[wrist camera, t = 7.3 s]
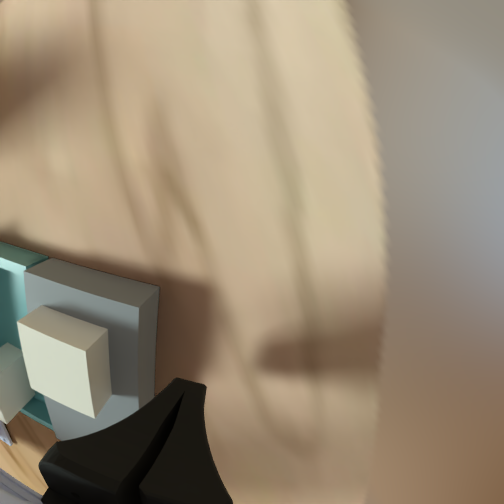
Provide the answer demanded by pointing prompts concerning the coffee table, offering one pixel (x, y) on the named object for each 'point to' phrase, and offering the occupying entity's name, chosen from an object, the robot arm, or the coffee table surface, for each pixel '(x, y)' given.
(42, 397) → the box
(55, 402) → the grey flat block
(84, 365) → the tile
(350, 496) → the coffee table surface
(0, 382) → the tile
